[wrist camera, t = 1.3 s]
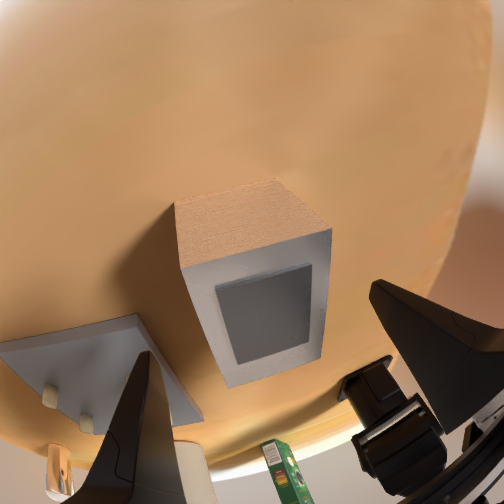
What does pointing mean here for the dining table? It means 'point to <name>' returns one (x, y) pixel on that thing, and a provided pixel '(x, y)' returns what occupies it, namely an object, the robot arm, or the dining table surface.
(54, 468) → the milkshake
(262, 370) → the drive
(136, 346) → the pin tray
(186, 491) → the travel mug
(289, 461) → the coffee box
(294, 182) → the dining table surface
